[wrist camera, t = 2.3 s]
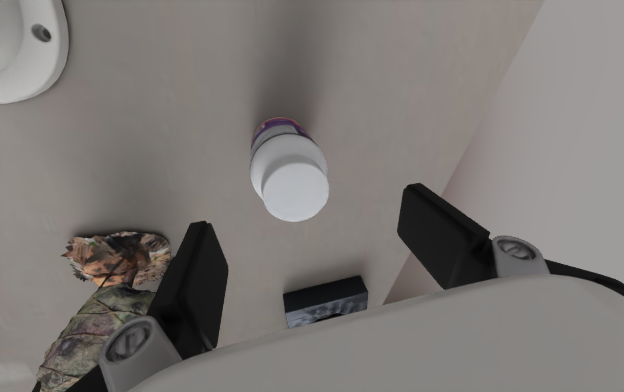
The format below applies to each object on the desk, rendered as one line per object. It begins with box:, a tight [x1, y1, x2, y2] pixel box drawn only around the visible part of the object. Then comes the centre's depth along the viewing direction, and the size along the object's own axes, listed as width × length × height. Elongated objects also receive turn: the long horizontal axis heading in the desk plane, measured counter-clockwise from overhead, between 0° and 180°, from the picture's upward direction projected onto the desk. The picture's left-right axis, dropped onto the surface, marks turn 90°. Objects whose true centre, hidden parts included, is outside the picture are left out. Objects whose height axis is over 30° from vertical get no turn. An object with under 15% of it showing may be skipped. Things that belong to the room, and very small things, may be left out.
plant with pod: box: [32, 231, 171, 392], centre depth 15 cm, size 8×11×20 cm
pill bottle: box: [250, 117, 329, 222], centre depth 17 cm, size 5×5×10 cm
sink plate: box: [283, 275, 368, 329], centre depth 35 cm, size 12×12×3 cm
